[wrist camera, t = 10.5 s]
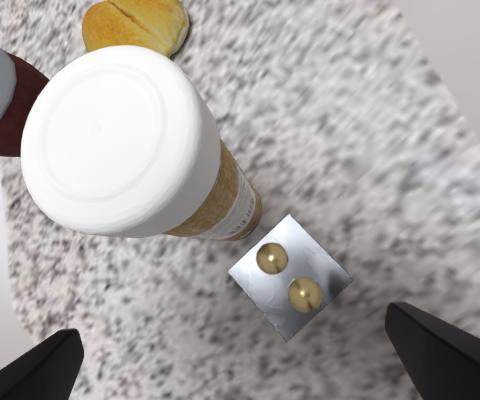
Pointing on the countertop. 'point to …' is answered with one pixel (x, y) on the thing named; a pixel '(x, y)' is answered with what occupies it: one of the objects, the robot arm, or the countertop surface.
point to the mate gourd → (16, 100)
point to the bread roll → (136, 25)
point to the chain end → (289, 277)
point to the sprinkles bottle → (133, 152)
